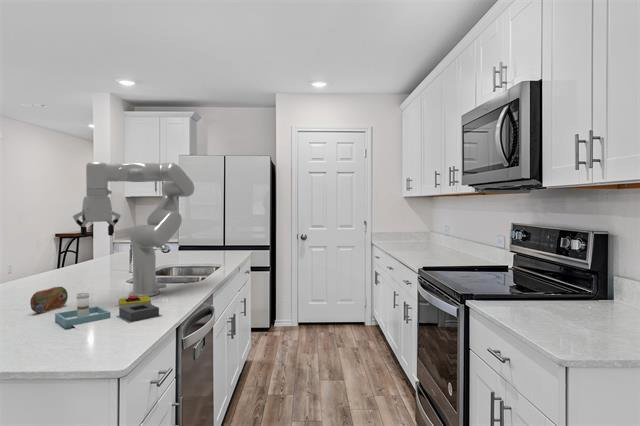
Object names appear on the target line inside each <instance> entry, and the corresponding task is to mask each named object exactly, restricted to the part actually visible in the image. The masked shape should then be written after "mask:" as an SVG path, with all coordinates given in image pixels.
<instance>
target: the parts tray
mask: <svg viewBox="0 0 640 426" xmlns="http://www.w3.org/2000/svg"><path fill="white" fill-rule="evenodd" d="M73 317H74V318H73ZM107 319H111V312H110V311H109V310H107V309H105V308H103V307H101V306H98V305H97V306H91V307H90V306H89V316H83V317H78V318H77V309H74V310H68V311H61V312H56V313H54V322H55V323H56V324H57V323H58V324H57V325H58V326H61V327H62V328H63V329H64V330H70V329H73V328H74V329H75V328H76V325H80V324H86V323H90V322H91V323H92V322H95V321H100V320H101V321H103V320H107ZM74 325H75V326H74Z"/></svg>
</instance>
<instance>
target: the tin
mask: <svg viewBox="0 0 640 426" xmlns="http://www.w3.org/2000/svg"><path fill="white" fill-rule="evenodd" d="M68 298H69V297H68V291H67V289H66V288H65V287H63V286H54V287H51V288H46V289H43V290H39V291H36V292H35V293H33V295H32V296H31V297H30V301H29V302H30V304H29V305H30V309H31V311H33V312H35V313H37V314H38V313H39V314H45V313H48V312H47V311H49V312H51V311H50V310H52V311H55V310H57V308H58V309H60V308H62V307H64V306H65V305H66V303H67V301H68ZM54 309H55V310H54Z"/></svg>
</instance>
